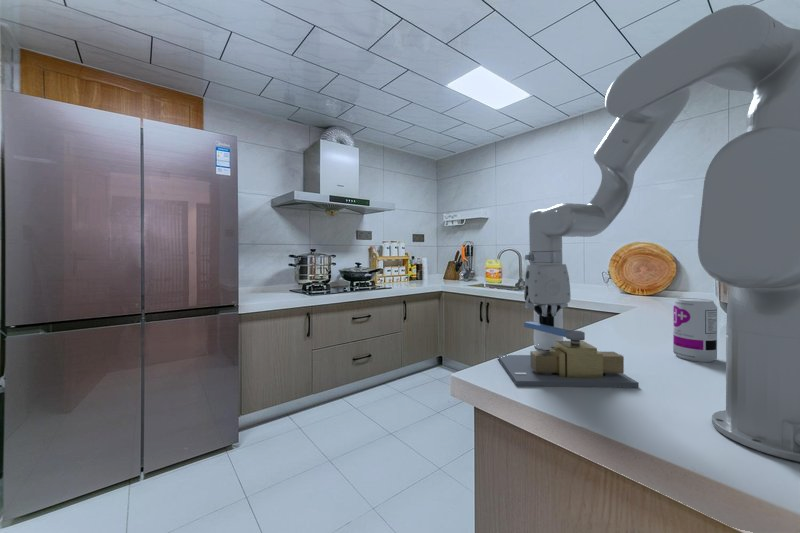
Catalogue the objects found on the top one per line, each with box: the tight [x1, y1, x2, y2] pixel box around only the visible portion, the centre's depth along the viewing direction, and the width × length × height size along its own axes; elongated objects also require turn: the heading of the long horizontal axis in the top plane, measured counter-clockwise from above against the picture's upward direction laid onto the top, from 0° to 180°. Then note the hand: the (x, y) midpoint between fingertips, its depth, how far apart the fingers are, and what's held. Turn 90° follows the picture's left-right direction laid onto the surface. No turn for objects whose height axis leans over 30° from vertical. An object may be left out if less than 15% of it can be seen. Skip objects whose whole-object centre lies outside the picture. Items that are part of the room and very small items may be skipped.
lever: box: [523, 321, 586, 341], centre depth 76 cm, size 16×4×1 cm, turn 23°
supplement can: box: [672, 297, 718, 363], centre depth 82 cm, size 8×8×15 cm
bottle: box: [533, 304, 564, 351], centre depth 93 cm, size 8×8×30 cm
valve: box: [529, 340, 625, 378], centre depth 70 cm, size 6×18×8 cm, turn 85°
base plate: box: [496, 354, 640, 389], centre depth 74 cm, size 18×24×1 cm
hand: (546, 331), depth 81 cm, fingers closed
